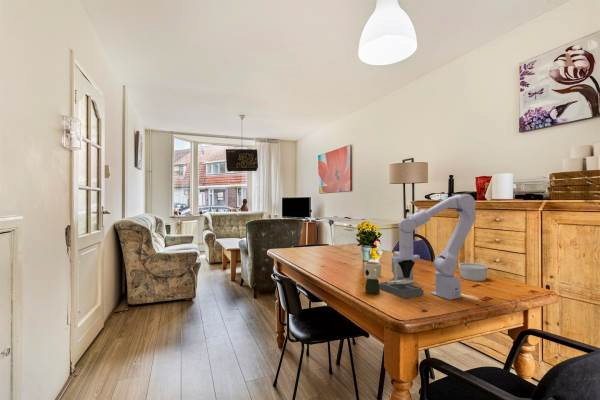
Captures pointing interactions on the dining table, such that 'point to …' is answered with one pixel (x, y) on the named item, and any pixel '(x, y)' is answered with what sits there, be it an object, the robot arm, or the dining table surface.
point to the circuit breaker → (398, 272)
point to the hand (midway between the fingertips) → (406, 277)
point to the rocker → (400, 282)
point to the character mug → (372, 276)
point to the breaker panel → (402, 289)
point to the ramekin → (473, 271)
